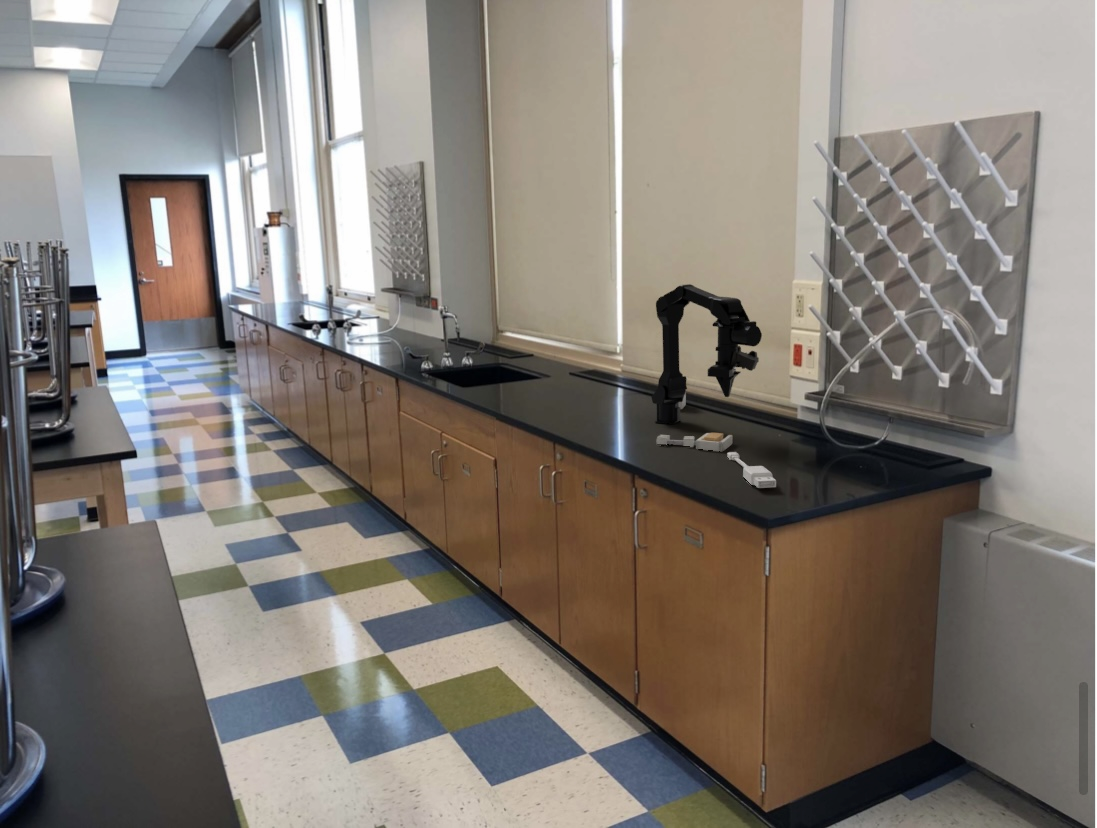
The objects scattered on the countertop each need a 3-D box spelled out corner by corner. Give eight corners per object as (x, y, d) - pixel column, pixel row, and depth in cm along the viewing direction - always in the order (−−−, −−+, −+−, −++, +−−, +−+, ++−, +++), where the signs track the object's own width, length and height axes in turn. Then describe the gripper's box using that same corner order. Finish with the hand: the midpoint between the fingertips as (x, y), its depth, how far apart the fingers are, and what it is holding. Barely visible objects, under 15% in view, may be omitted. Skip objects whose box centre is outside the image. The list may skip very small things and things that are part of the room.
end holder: (695, 449, 237) (695, 440, 237) (706, 441, 246) (706, 433, 245) (722, 451, 234) (722, 442, 233) (732, 443, 242) (732, 435, 242)
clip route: (654, 444, 243) (654, 436, 243) (660, 441, 247) (660, 433, 247) (695, 448, 238) (695, 440, 237) (701, 445, 242) (701, 436, 241)
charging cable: (739, 459, 230) (739, 447, 230) (777, 490, 198) (777, 476, 198) (721, 460, 230) (721, 448, 229) (756, 491, 198) (756, 477, 197)
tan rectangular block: (704, 449, 238) (704, 437, 237) (711, 444, 243) (711, 432, 242) (716, 450, 236) (716, 438, 235) (723, 445, 241) (723, 433, 240)
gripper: (747, 348, 232) (745, 404, 235) (764, 339, 248) (763, 392, 252) (707, 347, 237) (706, 402, 241) (726, 338, 253) (726, 390, 257)
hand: (727, 396), depth 247 cm, fingers closed
